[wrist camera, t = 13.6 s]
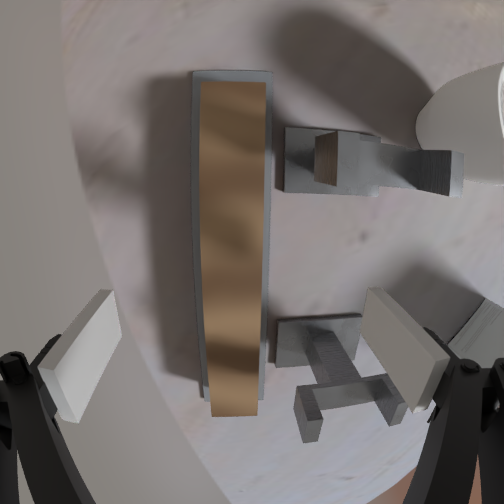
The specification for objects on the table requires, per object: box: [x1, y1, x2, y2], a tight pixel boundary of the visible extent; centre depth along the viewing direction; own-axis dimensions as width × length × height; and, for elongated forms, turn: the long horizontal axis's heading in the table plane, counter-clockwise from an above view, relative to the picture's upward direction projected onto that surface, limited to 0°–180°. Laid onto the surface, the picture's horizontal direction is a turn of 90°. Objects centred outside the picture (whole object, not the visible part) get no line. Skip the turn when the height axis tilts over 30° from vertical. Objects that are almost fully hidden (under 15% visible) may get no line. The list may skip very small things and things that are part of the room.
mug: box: [415, 62, 504, 186], centre depth 17 cm, size 12×9×12 cm
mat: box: [191, 71, 272, 402], centre depth 24 cm, size 30×6×1 cm, turn 179°
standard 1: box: [283, 127, 464, 198], centre depth 17 cm, size 5×8×11 cm, turn 89°
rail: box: [199, 81, 266, 417], centre depth 22 cm, size 26×4×4 cm, turn 179°
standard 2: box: [275, 314, 408, 443], centre depth 22 cm, size 5×8×11 cm, turn 89°
